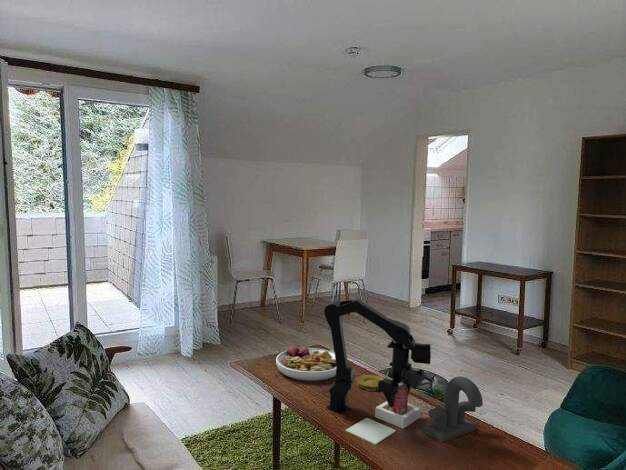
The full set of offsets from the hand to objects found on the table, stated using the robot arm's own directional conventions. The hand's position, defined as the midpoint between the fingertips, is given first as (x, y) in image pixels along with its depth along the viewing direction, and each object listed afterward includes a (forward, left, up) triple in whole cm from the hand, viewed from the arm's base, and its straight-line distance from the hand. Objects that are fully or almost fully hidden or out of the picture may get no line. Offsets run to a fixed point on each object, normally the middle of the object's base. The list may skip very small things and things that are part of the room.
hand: (398, 403), depth 166 cm
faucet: (+4, -21, -5) cm, 22 cm away
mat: (-15, +1, -5) cm, 16 cm away
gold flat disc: (+16, +23, -6) cm, 29 cm away
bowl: (+10, +52, -6) cm, 53 cm away
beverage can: (0, 0, -5) cm, 5 cm away
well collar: (0, 0, -5) cm, 5 cm away
